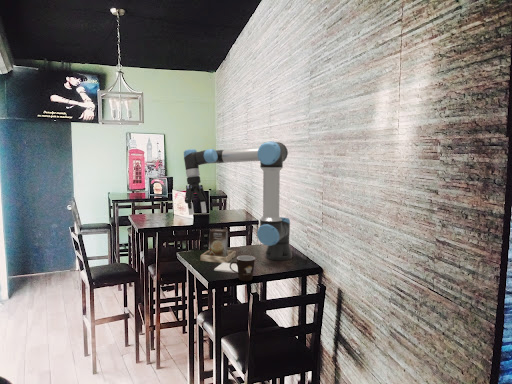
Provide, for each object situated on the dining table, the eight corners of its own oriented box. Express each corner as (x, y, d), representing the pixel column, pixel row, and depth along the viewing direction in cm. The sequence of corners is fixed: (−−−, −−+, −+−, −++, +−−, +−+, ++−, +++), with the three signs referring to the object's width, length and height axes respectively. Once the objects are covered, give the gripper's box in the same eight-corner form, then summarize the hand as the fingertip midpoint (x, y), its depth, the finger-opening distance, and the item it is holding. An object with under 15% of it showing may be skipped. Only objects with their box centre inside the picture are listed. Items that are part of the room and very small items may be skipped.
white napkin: (248, 266, 199) (248, 265, 199) (240, 273, 188) (240, 271, 188) (222, 263, 203) (222, 262, 203) (214, 270, 192) (214, 268, 192)
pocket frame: (235, 256, 218) (235, 251, 218) (226, 263, 204) (226, 257, 204) (211, 253, 223) (211, 248, 222) (200, 260, 208) (200, 255, 208)
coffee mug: (254, 276, 184) (255, 255, 183) (254, 282, 176) (254, 260, 175) (230, 275, 185) (231, 255, 184) (229, 281, 176) (229, 260, 175)
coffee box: (209, 259, 211) (209, 230, 209) (211, 256, 217) (211, 228, 215) (225, 260, 210) (226, 231, 208) (227, 257, 216) (228, 229, 214)
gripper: (199, 178, 231) (203, 213, 231) (175, 177, 208) (180, 216, 208) (209, 176, 229) (214, 211, 228) (186, 175, 206) (191, 214, 205)
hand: (198, 213), depth 218 cm, fingers open, 13 cm apart
